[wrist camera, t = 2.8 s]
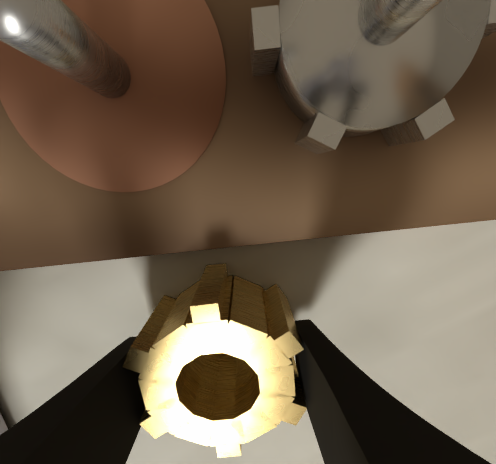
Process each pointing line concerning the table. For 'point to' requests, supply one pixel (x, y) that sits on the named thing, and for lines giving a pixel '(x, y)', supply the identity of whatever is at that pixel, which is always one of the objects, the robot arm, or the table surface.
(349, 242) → the table surface
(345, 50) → the mounted gears
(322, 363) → the robot arm
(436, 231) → the table surface
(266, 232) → the gear board
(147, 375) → the wooden gear
